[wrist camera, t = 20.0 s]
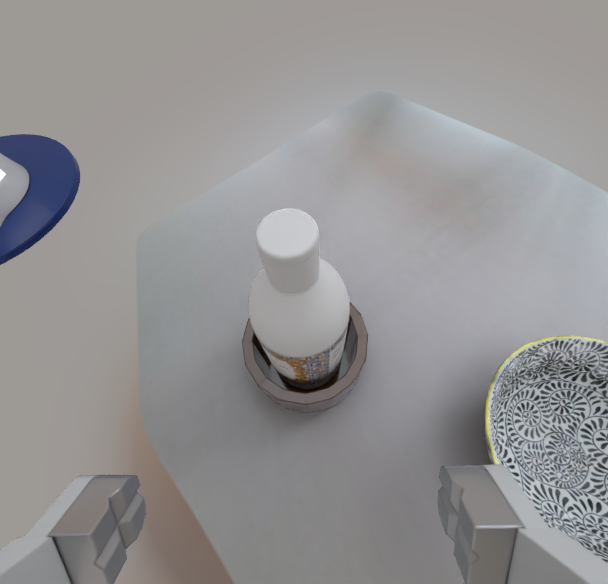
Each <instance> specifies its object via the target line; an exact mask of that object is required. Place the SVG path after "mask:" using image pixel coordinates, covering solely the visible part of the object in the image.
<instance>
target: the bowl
mask: <svg viewBox="0 0 608 584" xmlns="http://www.w3.org/2000/svg"><path fill="white" fill-rule="evenodd" d="M484 428H485V440H486V446H487V450H488V454H489V457H490V460H491V463H492V465H496V464H502V465H504V466H505V467H506V468H507V469H508V471H509V472H510V473H511V475H512V476H513V477H514V479H515V480H516V482H517V483H518V484H519V486H520V487H521V489H522V490H523V491H524V493H525V494H526V496H527V497H528V498H529V500H530V501H531V503H532V504H533V505H534V507H535V508H536V509H537V511H538V512H539V514H540V515H541V516H542V518H543V519H544V521H545V522H546V523H547V525H548V526H549V528H557V529H559V530H560V531H562V532H563V533H565V534H566V535H567V536H569V537H570V538H572V539H573V540H575V541H576V542H578V543H579V544H580V545H582V546H583V547H585V548H586V549H588V550H589V551H590V552H592V553H593V554H595V555H596V556H598V557H599V558H600V559H602V560H603V561H605V562H606V563H608V342H605V341H601V340H597V339H592V338H586V337H578V336H556V337H548V338H544V339H540V340H537V341H533V342H531V343H529V344H527V345H525V346H523V347H521V348H519V349H518V350H516V351H515V352H514V353H512V354H511V355H510V356H509V357H508V358H507V359H506V360H505V361H504V362H503V363H502V364H501V366H500V367H499V368H498V370H497V372H496V374H495V375H494V377H493V379H492V382H491V384H490V387H489V390H488V394H487V399H486V406H485V425H484Z"/></svg>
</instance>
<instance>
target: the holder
mask: <svg viewBox="0 0 608 584" xmlns="http://www.w3.org/2000/svg"><path fill="white" fill-rule="evenodd" d="M349 302H350V301H349ZM367 342H368V334H367V331H366V328H365V325H364V322H363V319H362V317H361V314H360V313H359V312H358V311H357V309H356V308H355V307H354V306H353V305H352V304H351V303H350V317H349V323H348V328H347V333H346V339H345V344H344V349H343V355H342V359H341V363H340V366H339V369H338V371H337V372H336V374H335V375H334V376H333V377H332V378H331V379H330V380H329V381H328V382H327V383H326V384H324V385H322V386H320V387H317V388H313V389H301V388H296V387H294V386H291V385H290V384H288V383H286V382H285V381H284V380H283V379H282V378H281V377H280V376H279V374H278V373H277V371H276V370H275V368H274V366H273V365H272V363H271V361H270V359H269V358H268V356H267V354H266V352H265V351H264V349H263V347H262V345H261V344H260V342H259V340H258V338H257V337H256V335H255V333H254V331H253V329H252V326H251V323H250V318H249V319H248V322H247V326H246V329H245V333H244V337H243V340H242V344H243V352H244V359H245V365H246V367H247V368H248V370H249V372H250V373H251V375H252V376H253V378H254V380H255V381H256V383H257V385H258V386H259V387H260V388H261V389H262V390H263V391H264V392H265V393H266V394H267V395H268V396H269V397H270V398H271V399H273V400H274V401H276V402H277V403H278V404H280V405H282V406H283V407H285V408H287V409H290V410H293V411H297V412H305V413H307V412H318V411H322V410H325V409H328V408H330V407H332V406H334V405H336V404H337V403H339V402H340V401H341V400H342V399H343V398H345V397H346V395H348V394H349V393H350V391H351V389H352V387H353V386H354V384H355V382H356V380H357V378H358V376H359V375H360V372H361V370H362V368H363V366H364V363H365V361H366V354H367Z"/></svg>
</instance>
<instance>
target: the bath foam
mask: <svg viewBox="0 0 608 584" xmlns="http://www.w3.org/2000/svg"><path fill="white" fill-rule="evenodd" d="M256 243H257V247H258V250H259V253H260V256H261V259H262V262H263V266H264V267H263V268H262V269H261V270H260V272H259V273H258V274H257V276H256V278H255V280H254V281H253V284H252V286H251V289H250V293H249V300H248V312H249V318H250V323H251V326H252V329H253V331H254V333H255V335H256V337H257V338H258V340H259V342H260V344H261V345H262V347H263V349H264V351H265V352H266V354H267V356H268V358H269V359H270V361H271V363H272V365H273V366H274V368H275V370H276V371H277V373H278V374H279V376H280V377H281V378H282V379H283V380H284V381H285V382H286V383H288V384H290V385H291V386H294V387H296V388H301V389H313V388H317V387H320V386H322V385H324V384H326V383H327V382H328V381H329V380H330V379H331V378H332V377H333V376H334V375H335V374H336V372H337V371H338V369H339V366H340V363H341V359H342V355H343V349H344V344H345V339H346V333H347V328H348V323H349V317H350V302H349V296H348V292H347V289H346V286H345V284H344V282H343V280H342V278H341V277H340V275H339V274H338V272H337V271H336V270H335V269H334V268H333V267H332V266H331V265H330V264H329V263H327V262H326V261H325V260H323V259H321V258H319V231H318V227H317V224H316V222H315V221H314V219H313V218H312V217H311V216H310V215H309V214H307V213H305V212H303V211H301V210H298V209H292V208H286V209H280V210H276V211H274V212H272V213H270V214H268V215H267V216H266V217H264V218H263V219H262V221H261V222H260V223H259V225H258V227H257V230H256Z"/></svg>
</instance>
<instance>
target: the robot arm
mask: <svg viewBox="0 0 608 584" xmlns="http://www.w3.org/2000/svg"><path fill="white" fill-rule="evenodd" d="M28 186H29V174H28V172H27V170H26V169H25V168H24V167H23V166H21V165H20V164H18V163H16V162H14V161H12V160H11V159H9V158H8V157H6V156H4V155H3V154H1V153H0V227H1V225H2V223H3V221H4V219H5V218H6V216H7V215H8V214H9V213H10V212H11V211H12V210H13V209H14V208H15V207H16V206H17V205H18V204H19V203H20V201H21V200H22V199H23V197H24V195H25V194H26V192H27V189H28ZM439 478H440V481H441V483H442V485H443V486H442V487H441V488H440V490H439V491H438V508H439V514H440V518H441V521H442V524H443V527H444V529H445V532H446V534H447V535H448V536H449V537H450V538H451V539H452V540H453V541H454V542H455V548H454V555H455V558H456V560H457V563H458V565H459V568H460V570H461V573H462V575H463V578H464V580H465V583H466V584H608V563H606V562H605V561H603V560H602V559H600V558H599V557H598V556H596V555H595V554H593V553H592V552H590V551H589V550H588V549H586V548H585V547H583V546H582V545H580V544H579V543H578V542H576V541H575V540H573V539H572V538H570V537H569V536H567V535H566V534H565V533H563V532H562V531H560V530H559V529H557V528H549V526H548V525H547V523H546V522H545V521H544V519H543V518H542V516H541V515H540V514H539V512H538V511H537V509H536V508H535V507H534V505H533V504H532V503H531V501H530V500H529V498H528V497H527V496H526V494H525V493H524V491H523V490H522V489H521V487H520V486H519V484H518V483H517V482H516V480H515V479H514V477H513V476H512V475H511V473H510V472H509V471H508V469H507V468H506V467H505V466H504V465H502V464H496V465H463V466H442V467H441V469H440V475H439ZM139 487H140V483H139V480H138V477H137V476H135V475H80V476H78V477H76V478H75V479H73V480H72V481H71V482H70V484H69V485H68V486H67V487H66V488H65V490H64V491H63V492H62V493H61V494H60V495H59V497H58V498H57V499H56V500H55V501H54V503H53V504H52V505H51V506H50V507H49V508H48V510H47V511H46V512H45V513H44V514H43V516H42V517H41V518H40V519H39V521H38V522H37V523H36V524H35V525H34V526H33V527H32V529H31V530H30V531H29V532H28V533H27V535H26V536H25V537H19V538H17V539H15V540H14V541H12V542H11V543H9V544H8V545H6V546H5V547H3V548H2V549H0V584H114V582H115V580H116V578H117V576H118V575H119V573H120V571H121V568H122V567H123V565H124V563H125V561H126V559H127V557H126V548H127V547H128V546H130V545H131V544H132V543H133V542H134V541H135V540H136V539H137V537H138V535H139V533H140V531H141V529H142V527H143V523H144V519H145V515H146V504H145V501H144V498H143V497H142V496H141V495H140V494H139V493H138V492H137V489H138V488H139Z"/></svg>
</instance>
